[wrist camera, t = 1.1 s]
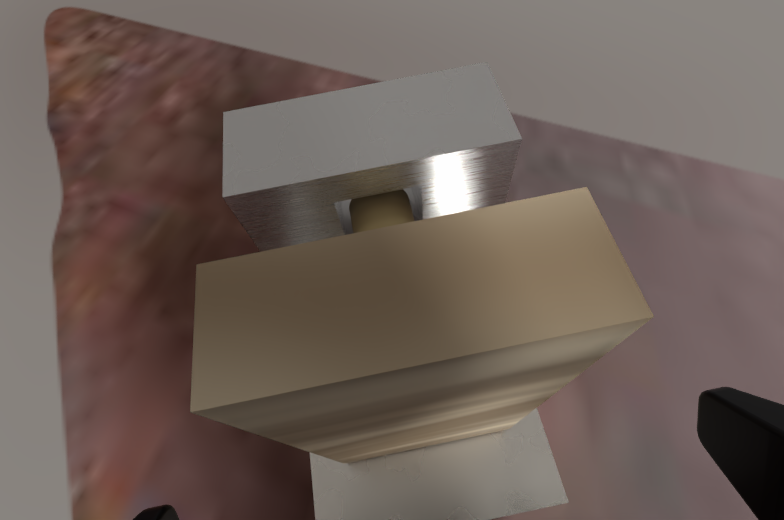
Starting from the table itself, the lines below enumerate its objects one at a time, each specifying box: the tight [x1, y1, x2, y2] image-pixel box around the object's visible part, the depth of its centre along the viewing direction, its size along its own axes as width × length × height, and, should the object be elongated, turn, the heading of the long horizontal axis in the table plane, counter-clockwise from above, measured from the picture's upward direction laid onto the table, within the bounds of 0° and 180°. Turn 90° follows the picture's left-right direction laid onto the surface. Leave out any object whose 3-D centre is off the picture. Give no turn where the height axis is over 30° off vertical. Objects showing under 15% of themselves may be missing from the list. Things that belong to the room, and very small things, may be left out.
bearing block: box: [223, 62, 568, 520], centre depth 17 cm, size 15×10×10 cm
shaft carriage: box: [190, 187, 654, 464], centre depth 14 cm, size 8×7×13 cm
